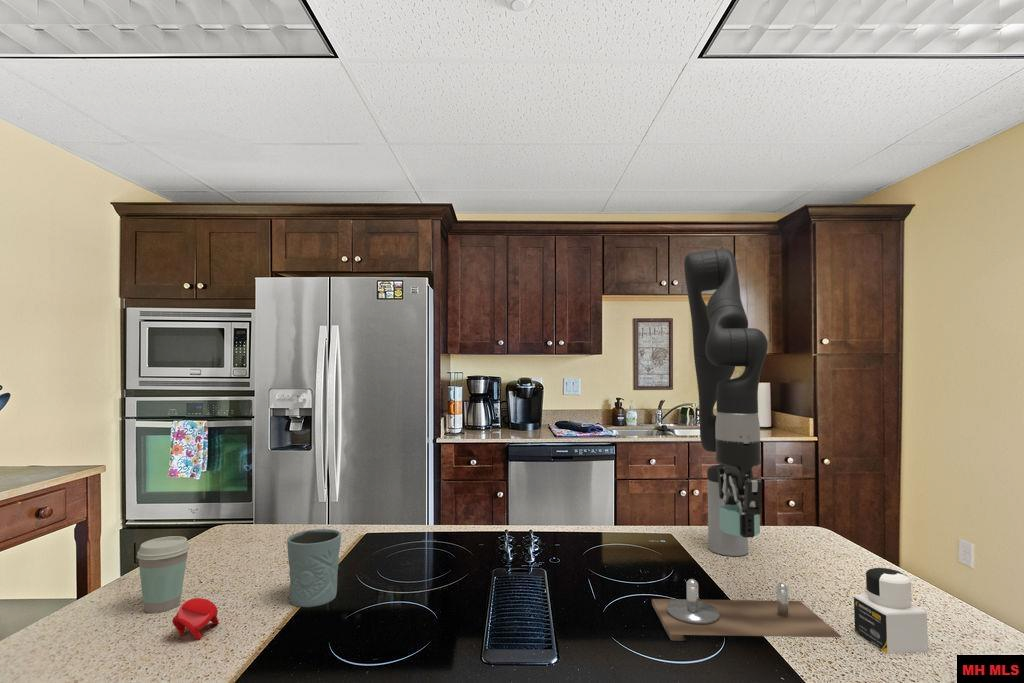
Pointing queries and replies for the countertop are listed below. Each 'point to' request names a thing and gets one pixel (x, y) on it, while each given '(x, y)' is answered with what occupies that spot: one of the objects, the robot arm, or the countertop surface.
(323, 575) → the embossed green cup
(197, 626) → the red toy chair
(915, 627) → the medicine bottle
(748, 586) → the countertop surface
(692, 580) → the steel hub
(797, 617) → the walnut board
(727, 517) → the sage ring
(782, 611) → the stand rod
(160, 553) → the coffee cup
